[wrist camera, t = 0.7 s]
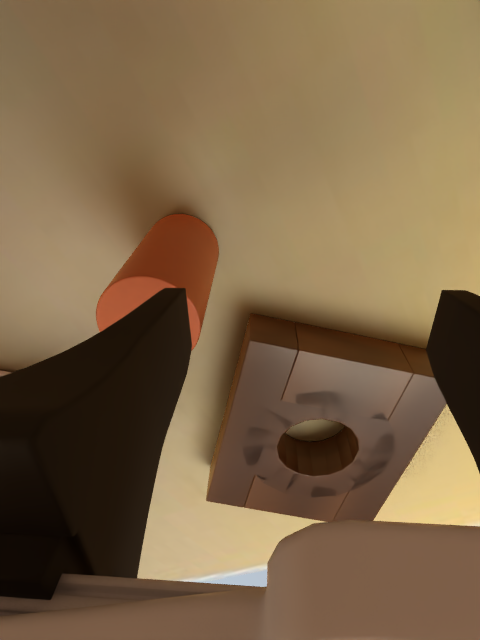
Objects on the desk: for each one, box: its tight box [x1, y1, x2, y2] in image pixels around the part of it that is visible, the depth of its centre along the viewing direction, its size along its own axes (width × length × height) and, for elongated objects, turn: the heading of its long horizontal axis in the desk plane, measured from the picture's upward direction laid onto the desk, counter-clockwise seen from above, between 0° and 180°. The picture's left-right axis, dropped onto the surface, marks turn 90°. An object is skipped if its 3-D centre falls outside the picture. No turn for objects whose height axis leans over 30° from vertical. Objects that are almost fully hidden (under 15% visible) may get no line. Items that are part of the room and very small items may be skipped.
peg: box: [96, 214, 219, 351], centre depth 19 cm, size 4×4×8 cm
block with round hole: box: [206, 313, 447, 522], centre depth 27 cm, size 12×14×3 cm
